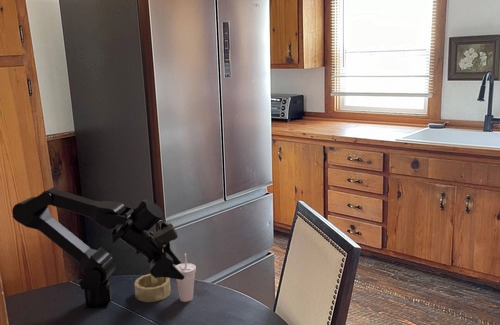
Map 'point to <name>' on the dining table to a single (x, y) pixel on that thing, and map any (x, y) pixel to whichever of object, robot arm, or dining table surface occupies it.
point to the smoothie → (186, 280)
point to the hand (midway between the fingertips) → (181, 271)
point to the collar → (152, 288)
